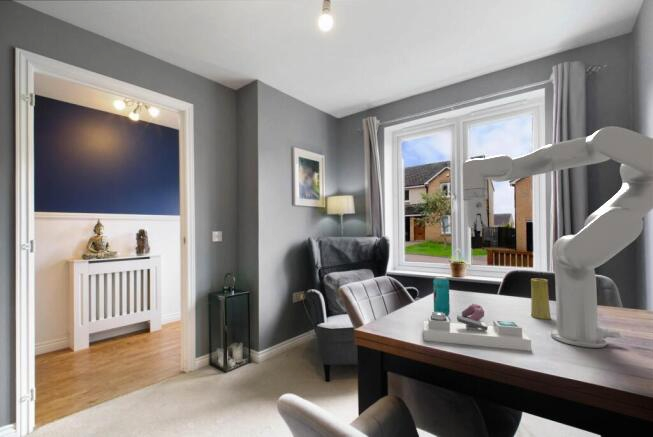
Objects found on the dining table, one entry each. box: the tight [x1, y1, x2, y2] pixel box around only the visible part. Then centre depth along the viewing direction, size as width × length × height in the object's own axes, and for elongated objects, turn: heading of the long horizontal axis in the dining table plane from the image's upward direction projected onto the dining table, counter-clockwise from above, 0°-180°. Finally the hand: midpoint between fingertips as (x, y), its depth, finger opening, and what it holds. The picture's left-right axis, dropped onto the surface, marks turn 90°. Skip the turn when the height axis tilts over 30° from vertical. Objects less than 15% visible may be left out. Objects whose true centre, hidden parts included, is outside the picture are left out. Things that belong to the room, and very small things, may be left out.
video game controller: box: [461, 303, 485, 322], centre depth 109 cm, size 10×5×7 cm, turn 169°
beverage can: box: [432, 275, 451, 318], centre depth 115 cm, size 6×6×15 cm
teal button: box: [499, 322, 515, 327], centre depth 87 cm, size 4×4×2 cm
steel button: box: [431, 311, 445, 321], centre depth 93 cm, size 4×4×2 cm
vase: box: [530, 277, 552, 320], centre depth 113 cm, size 6×6×14 cm
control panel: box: [423, 314, 532, 352], centre depth 90 cm, size 28×10×6 cm, turn 73°
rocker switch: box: [456, 315, 488, 330], centre depth 90 cm, size 8×4×1 cm, turn 72°
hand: (476, 248), depth 101 cm, fingers closed
